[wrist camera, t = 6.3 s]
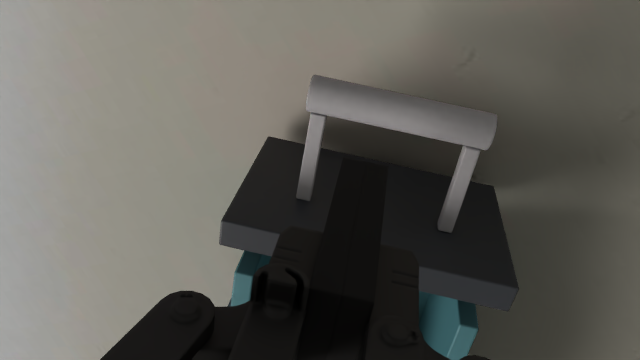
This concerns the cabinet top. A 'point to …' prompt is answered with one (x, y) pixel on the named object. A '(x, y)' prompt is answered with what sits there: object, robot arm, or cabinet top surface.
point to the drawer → (387, 206)
